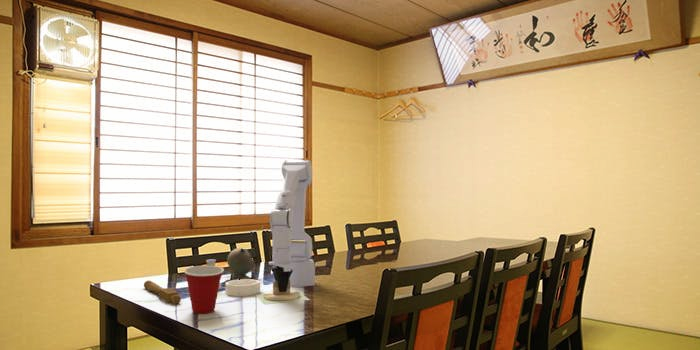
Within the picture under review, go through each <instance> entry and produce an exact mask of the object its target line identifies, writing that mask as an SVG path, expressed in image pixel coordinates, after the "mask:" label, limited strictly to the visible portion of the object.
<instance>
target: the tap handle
mask: <svg viewBox="0 0 700 350" xmlns="http://www.w3.org/2000/svg"><path fill="white" fill-rule="evenodd" d="M143 287H144V289H146V290H148V291H150V292H152V293H154V294H157V295H159V299H161V300H162V301H163V302H166V303H167V304H171V303H172V304H173V305H178V304H180V303H181V300H182V298H181V296H180V295H179V292H178V291H177V290H175V289H172V288H171V287H166V288H165V287H164V288H163V287H162V286H161V285H159V284H157V283H155V282H153V281H152V280H146V281H145V282H144V283H143Z"/></svg>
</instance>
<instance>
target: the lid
mask: <svg viewBox="0 0 700 350" xmlns="http://www.w3.org/2000/svg"><path fill="white" fill-rule="evenodd" d="M298 291H299V290H292V289H291V287H290V280H289V281H288V286H287V290H286V292H279V289H278V282H277V281H275V280H273V281H272V290H270V291H266V292H263V293H264V299H266V300H269V301H289V300H294V299H297V298H299V297H300V293H301V292H300V291H299V292H300V293H299V292H298Z"/></svg>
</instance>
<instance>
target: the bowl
mask: <svg viewBox="0 0 700 350" xmlns="http://www.w3.org/2000/svg"><path fill="white" fill-rule="evenodd" d="M224 283H225V285H224V286H225V288H224V289H225V294H226V295H227V296H233V297H234V296H235V297H243V296H253V295H254V296H255V294H260V293H261V282H260V280H259V279H252V278H251V279H250V278H247V279H240V280H239V279H232V280H228V281H226V282H224Z"/></svg>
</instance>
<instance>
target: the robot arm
mask: <svg viewBox="0 0 700 350" xmlns="http://www.w3.org/2000/svg"><path fill="white" fill-rule="evenodd" d="M281 172H282V173H281V174H282V177H283V179H284V183H283V184H284V185H283V190H282V191H281V192H279V194H278V197H277V200H276V204H275V208H274V209H273V210H271V211H270V215H269V225H270V232H271V234H272V261H268V265H270V266H275V267H271V268H270V270H271V272H272V274H273V277H274V281H277V282H278V289H279V292H286V290H287V286H288V281H289V280H290V288H300V287H308V286H309V287H310V286H312V287H313V286H316V274H315V273H316V265H315V262H314V259H312V255H313V239H312V237H311V236H310V235H309V234H308V233H306V231H305V226H306V225H305V223H306V198H307V188H308V186H310V185H311V184H312V181H313V165H312V162H311V160H310V159H307V160H285V159H284V161H283V162H282V164H281Z"/></svg>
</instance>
